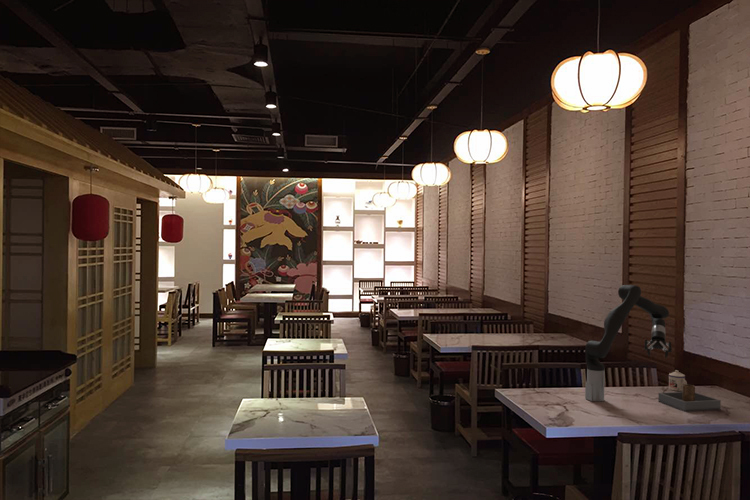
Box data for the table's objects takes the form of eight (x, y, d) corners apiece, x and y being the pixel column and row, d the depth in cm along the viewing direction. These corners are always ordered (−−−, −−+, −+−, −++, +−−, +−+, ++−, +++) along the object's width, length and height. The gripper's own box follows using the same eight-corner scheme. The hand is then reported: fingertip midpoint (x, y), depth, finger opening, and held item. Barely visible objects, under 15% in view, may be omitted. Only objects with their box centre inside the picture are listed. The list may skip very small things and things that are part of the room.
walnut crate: (683, 404, 307) (683, 386, 307) (682, 401, 312) (682, 383, 312) (694, 405, 305) (695, 387, 305) (694, 403, 310) (694, 385, 310)
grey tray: (685, 411, 296) (685, 402, 296) (658, 401, 316) (658, 392, 316) (720, 409, 301) (720, 400, 301) (691, 400, 321) (692, 391, 321)
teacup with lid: (664, 388, 349) (665, 369, 349) (676, 387, 351) (677, 368, 351) (680, 392, 337) (680, 373, 337) (692, 392, 340) (692, 372, 340)
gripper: (645, 329, 336) (643, 350, 326) (671, 331, 330) (671, 353, 319) (645, 337, 341) (643, 358, 331) (671, 339, 334) (671, 361, 324)
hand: (657, 356), depth 325 cm, fingers open, 8 cm apart
